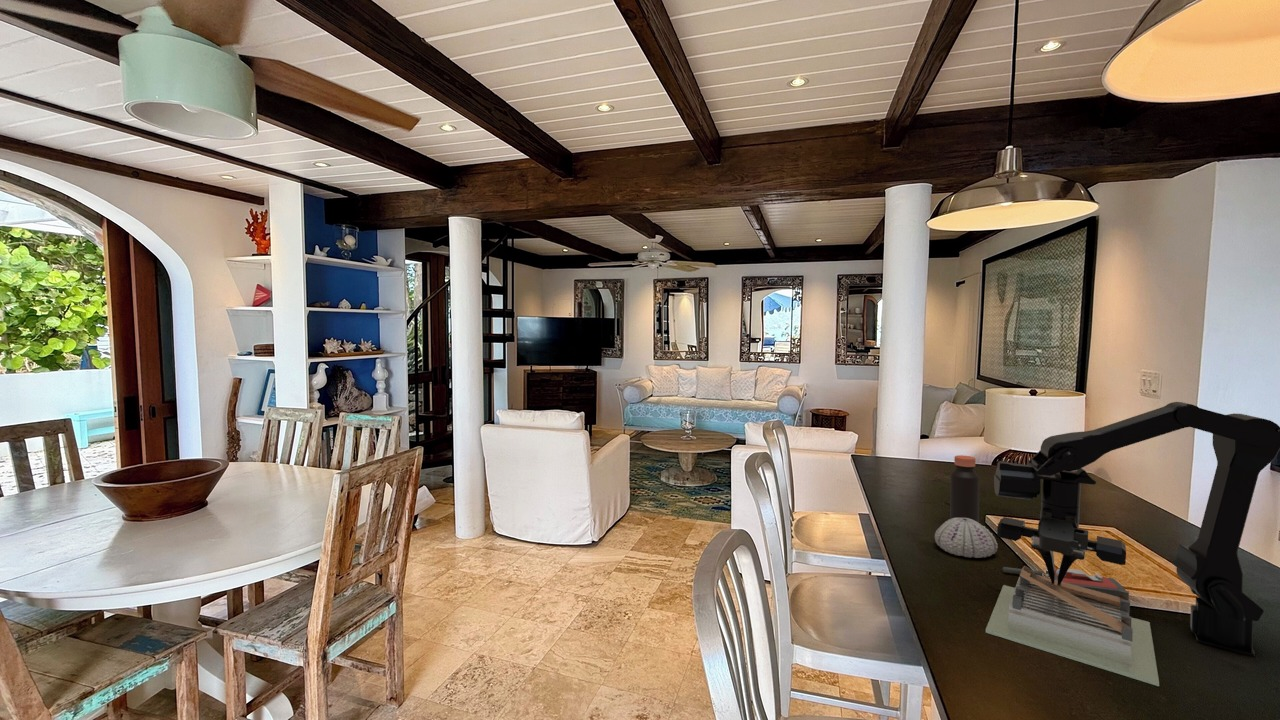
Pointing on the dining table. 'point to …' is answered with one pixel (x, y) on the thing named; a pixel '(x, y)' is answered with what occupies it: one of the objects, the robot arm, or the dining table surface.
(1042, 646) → the heat sink board
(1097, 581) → the walkie-talkie
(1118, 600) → the strap
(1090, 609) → the strap
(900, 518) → the dining table surface
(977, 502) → the bottle
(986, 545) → the sea urchin shell
